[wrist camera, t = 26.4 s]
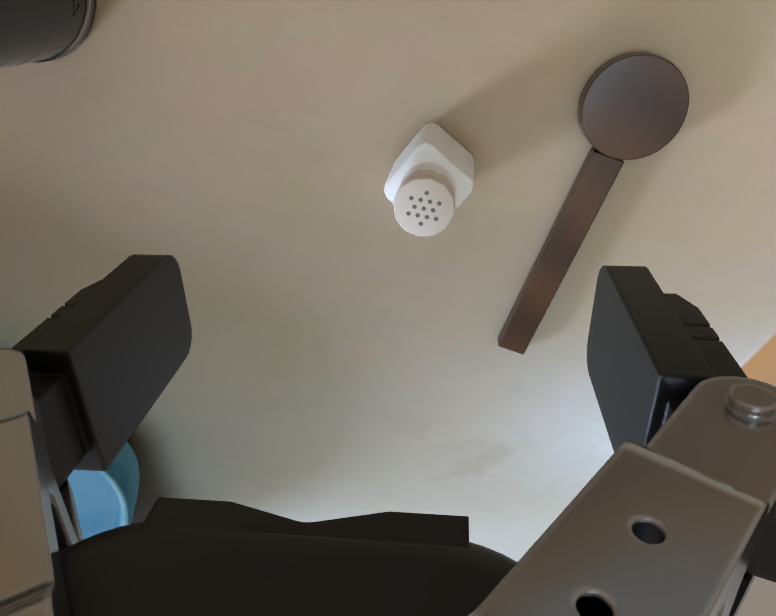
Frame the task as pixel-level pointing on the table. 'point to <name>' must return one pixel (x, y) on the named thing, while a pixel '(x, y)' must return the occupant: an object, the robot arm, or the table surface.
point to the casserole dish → (107, 494)
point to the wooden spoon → (601, 168)
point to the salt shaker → (429, 181)
